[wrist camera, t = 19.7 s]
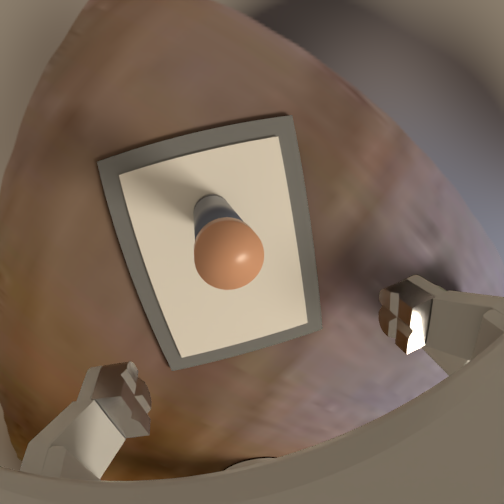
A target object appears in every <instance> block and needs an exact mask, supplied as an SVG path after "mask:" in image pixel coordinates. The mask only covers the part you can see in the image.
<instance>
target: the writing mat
mask: <svg viewBox="0 0 504 504" xmlns="http://www.w3.org/2000/svg"><path fill="white" fill-rule="evenodd" d="M97 164H98V168H99V173H100V177H101V181H102V185H103V188H104V192H105V196H106V200H107V203H108V207H109V210H110V214H111V217H112V220H113V224H114V227H115V230H116V233H117V237H118V240H119V243H120V246H121V249H122V252H123V255H124V258H125V260H126V263H127V266H128V269H129V272H130V274H131V277H132V280H133V282H134V285H135V288H136V290H137V293H138V295H139V298H140V300H141V303H142V305H143V308H144V310H145V313H146V315H147V317H148V320H149V322H150V324H151V327H152V329H153V331H154V333H155V336H156V338H157V340H158V342H159V345H160V347H161V349H162V351H163V353H164V355H165V357H166V359H167V361H168V364H169V366H170V368H171V370H172V371H174V370H179V369H184V368H188V367H193V366H197V365H201V364H206V363H210V362H214V361H218V360H222V359H226V358H229V357H233V356H237V355H241V354H244V353H248V352H251V351H255V350H258V349H262V348H265V347H269V346H272V345H275V344H279V343H282V342H285V341H288V340H291V339H294V338H298V337H301V336H304V335H307V334H310V333H313V332H315V331H318V330H321V329H322V318H321V307H320V297H319V287H318V278H317V269H316V260H315V252H314V244H313V237H312V229H311V222H310V215H309V208H308V202H307V195H306V189H305V183H304V177H303V171H302V165H301V159H300V154H299V148H298V143H297V137H296V132H295V127H294V122H293V117H292V115H290V116H282V117H275V118H268V119H262V120H255V121H250V122H244V123H238V124H233V125H228V126H223V127H218V128H213V129H209V130H204V131H200V132H196V133H191V134H187V135H183V136H179V137H176V138H172V139H168V140H164V141H161V142H157V143H154V144H150V145H147V146H143V147H140V148H137V149H134V150H130V151H127V152H124V153H121V154H118V155H115V156H112V157H109V158H107V159H104V160H101V161H98V162H97ZM207 194H217V195H220V196H222V197H223V198H224V199H225V200H226V201H227V202H228V203H229V205H230V206H231V207H232V208H233V209H234V211H235V212H236V213H237V214H238V215H239V217H240V218H241V219H242V220H243V222H245V223H246V224H248V225H249V226H250V227H251V229H252V230H253V231H254V232H255V233H256V234H257V236H258V237H259V238H260V240H261V242H262V245H263V248H264V262H263V265H262V268H261V270H260V272H259V273H258V275H257V276H256V277H255V278H254V279H253V280H252V281H251V282H250V283H248V284H247V285H245V286H243V287H241V288H238V289H233V290H223V289H218V288H215V287H213V286H211V285H209V284H207V283H206V282H205V281H204V280H203V279H202V278H201V277H200V275H199V274H198V272H197V270H196V267H195V263H194V243H195V234H194V215H193V210H194V206H195V204H196V202H197V201H198V200H199V199H200V198H201V197H202V196H204V195H207Z"/></svg>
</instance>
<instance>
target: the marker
mask: <svg viewBox="0 0 504 504" xmlns="http://www.w3.org/2000/svg"><path fill="white" fill-rule="evenodd" d="M193 215H194V234H195V243H194V263H195V267H196V270H197V272H198V274H199V275H200V277H201V278H202V279H203V280H204V281H205V282H206V283H207V284H209V285H211V286H213V287H215V288H218V289H223V290H233V289H238V288H241V287H243V286H245V285H247V284H248V283H250V282H251V281H252V280H253V279H254V278H255V277H256V276H257V275H258V273H259V272H260V270H261V268H262V265H263V262H264V248H263V245H262V242H261V240H260V238H259V237H258V236H257V234H256V233H255V232H254V231H253V230H252V229H251V227H250V226H249V225H248V224H246V223H245V222H243V220H242V219H241V218H240V217H239V215H238V214H237V213H236V212H235V211H234V209H233V208H232V207H231V206H230V205H229V203H228V202H227V201H226V200H225V199H224V198H223V197H222V196H220V195H217V194H207V195H204V196H202V197H201V198H200V199H199V200H198V201H197V202H196V204H195V206H194V210H193Z"/></svg>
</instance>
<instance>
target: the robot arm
mask: <svg viewBox="0 0 504 504" xmlns="http://www.w3.org/2000/svg"><path fill="white" fill-rule="evenodd" d="M379 302H380V303H381V304H382V307H381V309H380V311H379V323H380V326H381V329H382V330H383V332H384V333H385V334H386V335H387V336H388V337H391V338H395V344H396V345H397V346H398V347H399V348H400V349H401V350H402V351H403V352H405V353H406V354H408V353H410V352H412V351H414V350H416V349H418V348H420V347H422V346H424V345H426V346H428V347H431V348H434V349H437V350H440V351H442V352H445V353H448V354H451V355H454V356H457V357H460V358H463V359H466V360H469V362H468V363H467V364H465V365H464V366H463V367H461V368H460V369H459V370H457V371H456V372H454V373H453V374H452V375H450V376H449V377H447V378H446V379H444V380H443V381H441V382H440V383H438V384H437V385H435V386H434V387H432V388H430V389H429V390H427V391H426V392H424V393H422V394H421V395H419V396H418V397H416V398H414V399H412V400H411V401H409V402H407V403H406V404H404V405H402V406H400V407H398V408H397V409H395V410H393V411H391V412H389V413H387V414H385V415H383V416H381V417H379V418H377V419H375V420H373V421H371V422H369V423H367V424H365V425H363V426H361V427H359V428H356V429H354V430H352V431H350V432H347V433H345V434H343V435H340V436H338V437H335V438H333V439H330V440H328V441H325V442H323V443H320V444H317V445H315V446H312V447H309V448H306V449H303V450H300V451H297V452H294V453H291V454H288V455H285V456H282V457H278V458H260V459H253V460H248V461H244V462H241V463H238V464H235V465H233V466H231V467H229V468H227V469H226V470H224V471H220V472H214V473H208V474H202V475H195V476H188V477H180V478H170V479H159V480H143V481H101V480H100V478H101V476H102V475H103V473H104V472H105V470H106V469H107V467H108V466H109V464H110V463H111V461H112V460H113V458H114V456H115V455H116V453H117V452H118V450H119V449H120V447H121V446H122V444H123V443H124V441H125V440H126V439H125V438H131V437H139V436H146V435H149V433H150V418H149V416H148V415H147V413H148V412H149V410H150V409H151V397H150V392H149V390H148V387H147V385H146V384H145V382H144V381H143V380H141V379H139V378H138V370H137V368H136V366H135V365H134V363H132V362H130V361H129V362H123V363H117V364H110V365H104V366H97V367H91V368H90V369H88V371H87V374H86V376H85V379H84V382H83V385H82V387H81V390H80V393H79V396H78V399H77V401H76V402H72V403H71V404H70V405H69V406H68V407H67V408H66V409H65V410H63V411H62V412H61V413H60V414H59V415H58V416H57V417H56V418H55V419H54V420H53V421H52V422H50V423H49V424H48V425H47V426H46V427H45V428H44V429H43V430H42V431H41V432H40V433H39V434H38V435H37V436H35V437H34V438H33V439H32V440H31V441H30V442H29V444H28V447H27V450H26V452H25V456H24V459H23V462H22V465H21V468H20V471H17V470H13V469H9V468H4V467H1V466H0V504H504V297H498V296H490V295H482V294H474V293H466V292H458V291H450V290H449V291H447V292H446V291H444V290H442V289H441V288H439V287H437V286H436V285H434V284H432V283H431V282H429V281H427V280H426V279H424V278H422V277H420V276H419V275H413V276H411V277H409V278H407V279H404V280H403V281H401V282H398V283H396V284H394V285H391V286H389V287H386V288H384V289H381V290H380V293H379Z"/></svg>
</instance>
